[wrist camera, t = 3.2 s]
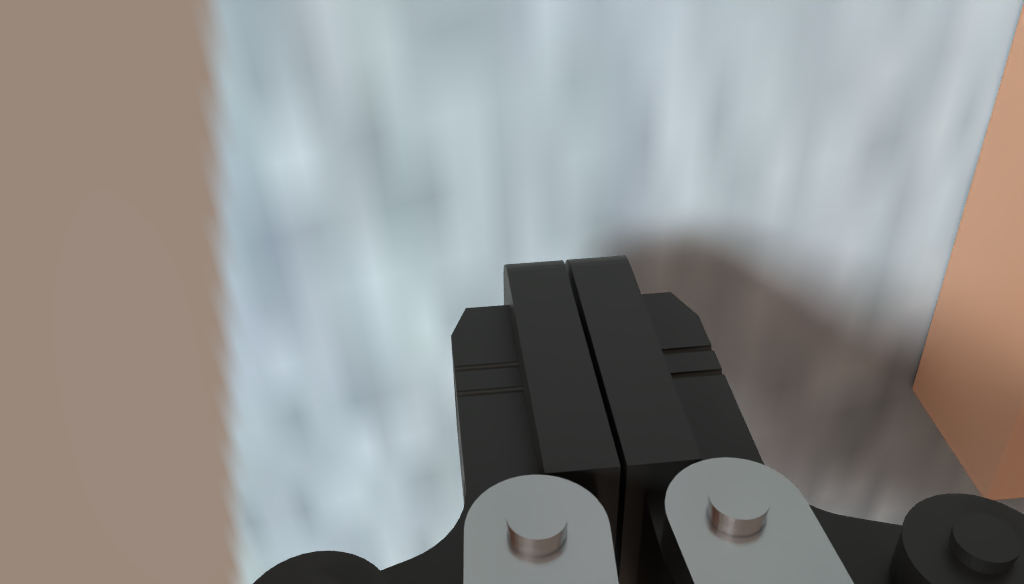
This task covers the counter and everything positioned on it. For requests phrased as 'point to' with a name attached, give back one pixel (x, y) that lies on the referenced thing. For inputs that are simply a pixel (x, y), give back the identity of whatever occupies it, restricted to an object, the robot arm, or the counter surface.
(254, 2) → the counter surface
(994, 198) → the light orange flat block
